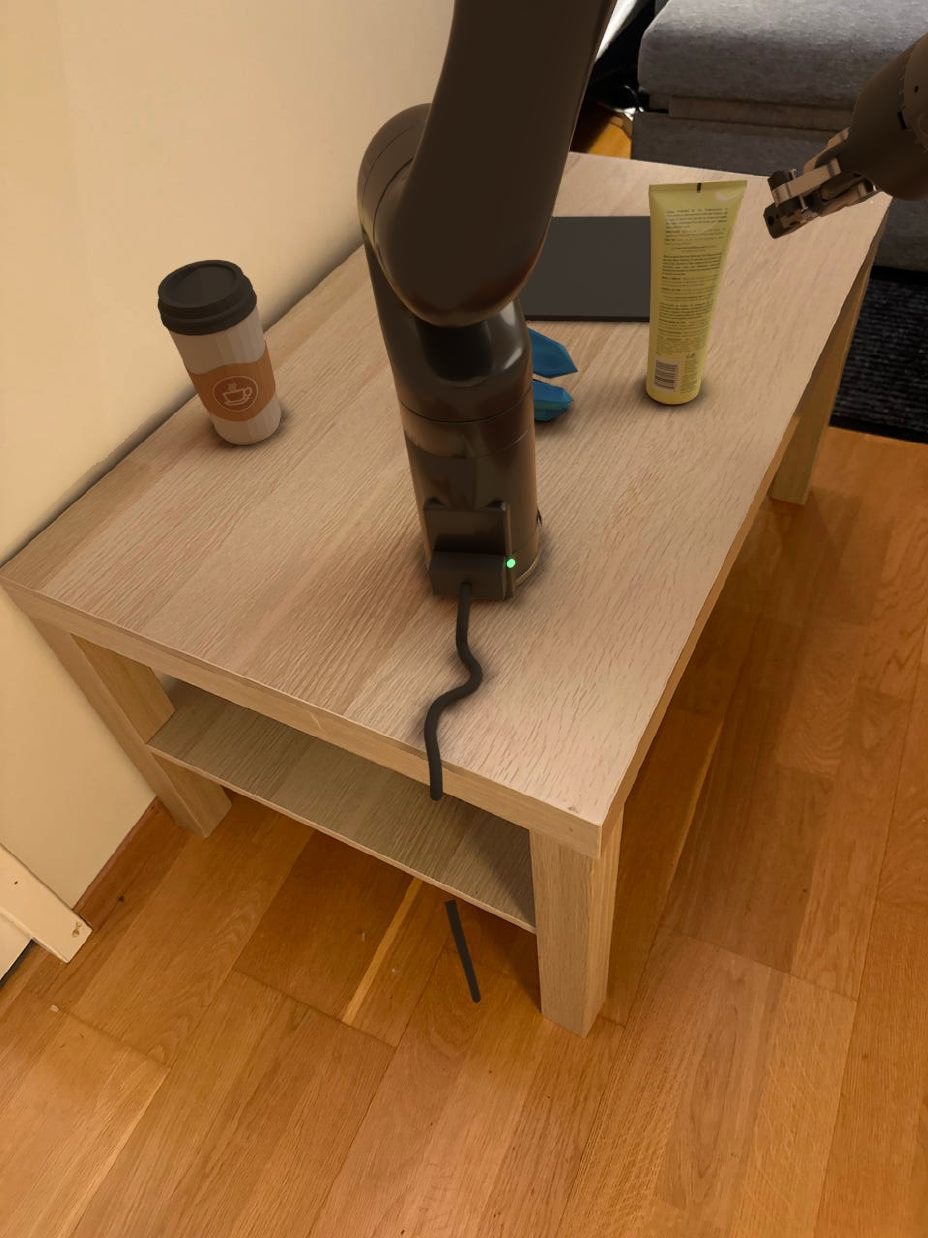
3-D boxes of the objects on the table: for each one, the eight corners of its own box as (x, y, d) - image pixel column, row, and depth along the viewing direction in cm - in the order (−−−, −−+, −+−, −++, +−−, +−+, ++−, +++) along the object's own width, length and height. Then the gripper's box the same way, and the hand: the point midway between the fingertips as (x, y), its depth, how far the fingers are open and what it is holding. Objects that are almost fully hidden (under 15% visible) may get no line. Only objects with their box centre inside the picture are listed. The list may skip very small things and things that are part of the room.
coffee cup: (211, 462, 83) (153, 320, 72) (203, 409, 89) (148, 269, 77) (298, 440, 84) (255, 297, 72) (286, 389, 89) (244, 247, 78)
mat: (656, 321, 91) (656, 316, 90) (444, 318, 95) (443, 313, 94) (661, 220, 103) (661, 215, 102) (472, 221, 107) (472, 216, 106)
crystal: (573, 383, 75) (446, 329, 77) (552, 455, 82) (437, 403, 84) (605, 334, 79) (483, 283, 81) (582, 406, 86) (471, 358, 88)
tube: (675, 364, 86) (698, 157, 71) (716, 386, 84) (749, 176, 68) (633, 390, 84) (648, 183, 69) (674, 414, 82) (698, 204, 66)
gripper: (1046, -14, 47) (834, 142, 64) (842, 54, 44) (677, 198, 61) (1086, 128, 48) (867, 245, 65) (890, 202, 45) (714, 304, 62)
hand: (775, 222), depth 63 cm, fingers closed
